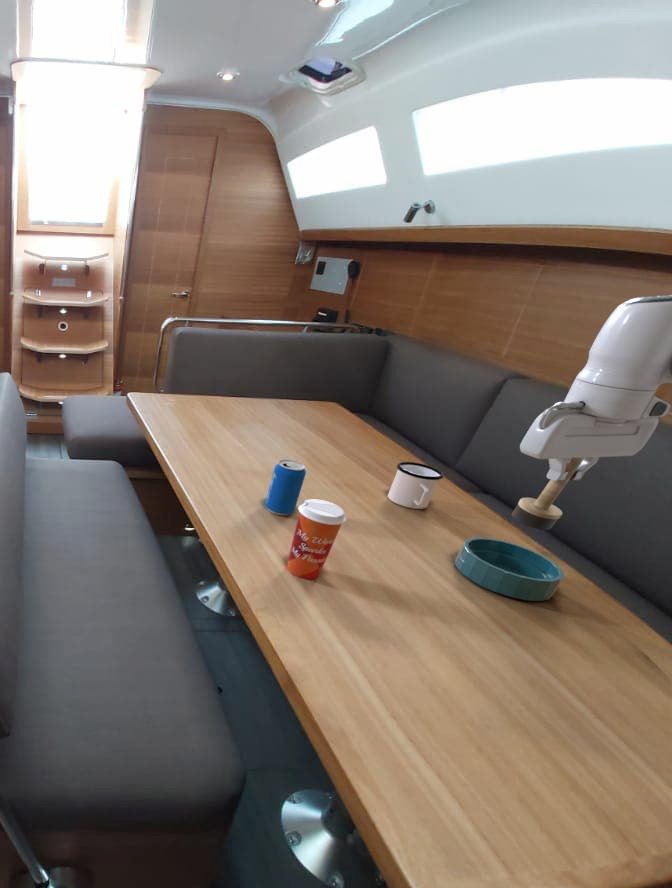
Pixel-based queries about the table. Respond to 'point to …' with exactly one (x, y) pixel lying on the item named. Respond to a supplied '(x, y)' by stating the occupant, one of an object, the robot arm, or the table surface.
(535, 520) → the wooden peg on disc
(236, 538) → the table surface
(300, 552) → the paper cup
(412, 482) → the mug
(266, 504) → the beverage can
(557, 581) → the bowl
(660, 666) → the table surface
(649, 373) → the robot arm
